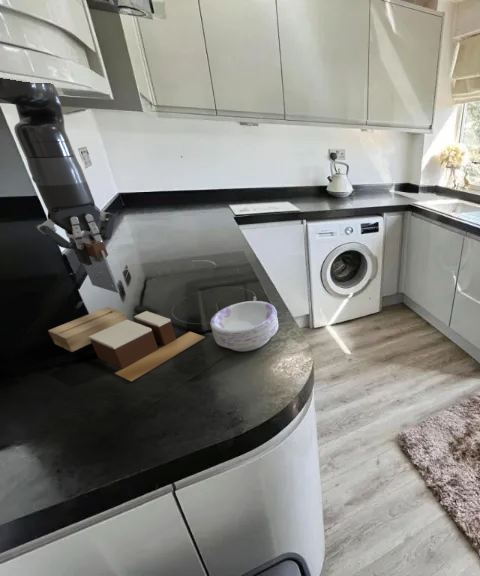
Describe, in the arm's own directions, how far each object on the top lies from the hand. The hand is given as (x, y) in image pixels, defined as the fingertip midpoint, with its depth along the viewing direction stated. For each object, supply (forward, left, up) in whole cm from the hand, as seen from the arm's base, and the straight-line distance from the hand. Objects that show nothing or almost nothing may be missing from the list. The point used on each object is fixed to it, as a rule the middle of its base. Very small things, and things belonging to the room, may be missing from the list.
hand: (95, 262), depth 72 cm
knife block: (-9, -2, -22) cm, 24 cm away
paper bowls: (+27, +14, -22) cm, 37 cm away
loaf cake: (+7, -3, -21) cm, 22 cm away
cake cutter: (0, 0, -7) cm, 7 cm away
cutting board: (+7, 0, -22) cm, 23 cm away
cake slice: (+7, +4, -21) cm, 22 cm away
